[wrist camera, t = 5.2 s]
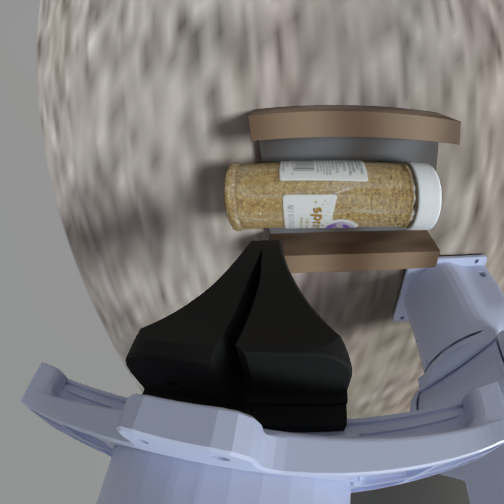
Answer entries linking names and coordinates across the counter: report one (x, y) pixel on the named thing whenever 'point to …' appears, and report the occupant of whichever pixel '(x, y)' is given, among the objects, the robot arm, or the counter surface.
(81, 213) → the counter surface
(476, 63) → the counter surface
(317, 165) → the sprinkles bottle
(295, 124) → the cradle
